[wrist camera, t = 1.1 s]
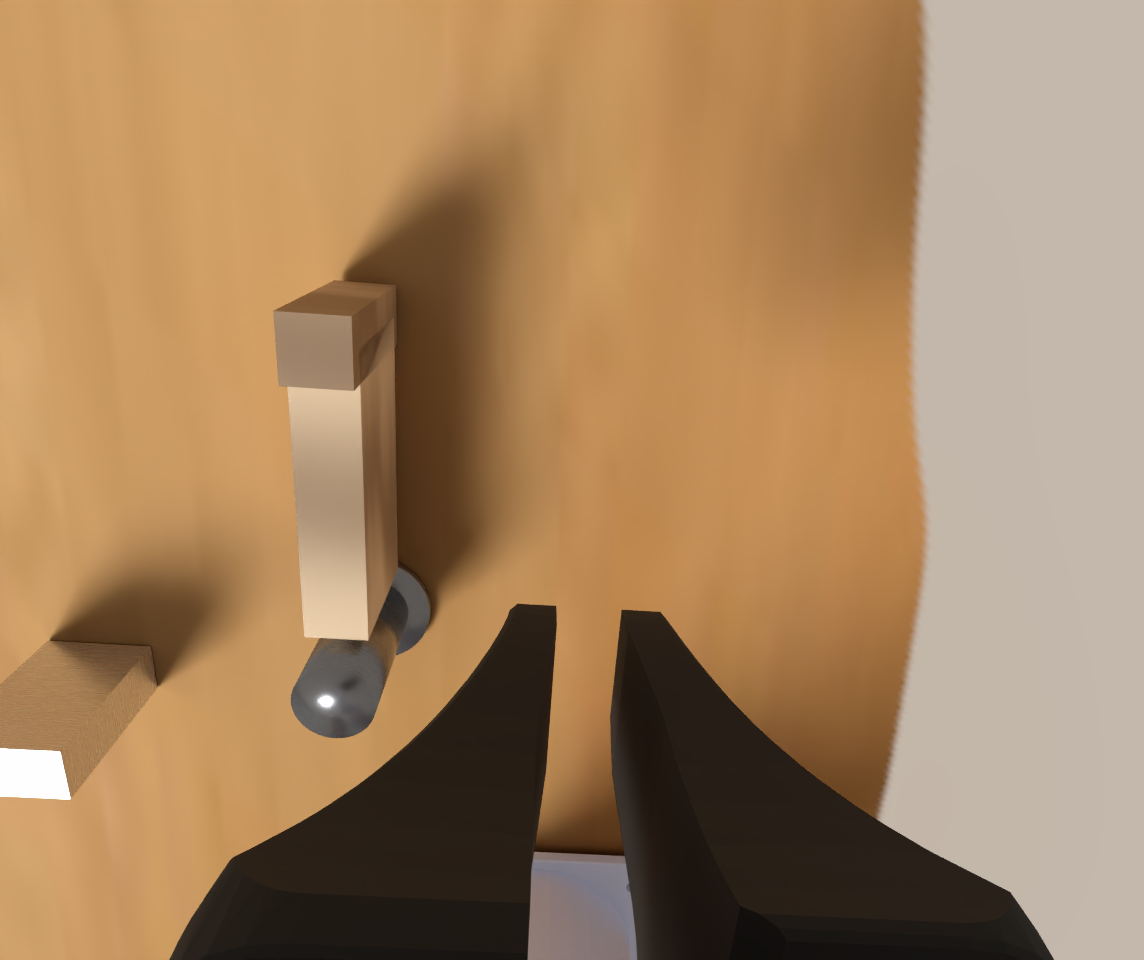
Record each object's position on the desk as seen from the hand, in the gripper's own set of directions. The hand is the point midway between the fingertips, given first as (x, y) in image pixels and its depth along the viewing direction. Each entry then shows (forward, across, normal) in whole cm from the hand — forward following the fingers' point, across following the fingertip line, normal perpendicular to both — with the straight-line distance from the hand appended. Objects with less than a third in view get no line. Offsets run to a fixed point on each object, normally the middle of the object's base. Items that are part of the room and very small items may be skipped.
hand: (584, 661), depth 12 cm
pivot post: (+9, +6, +5) cm, 12 cm away
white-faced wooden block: (+9, +14, +8) cm, 18 cm away
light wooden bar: (+9, +5, 0) cm, 11 cm away
